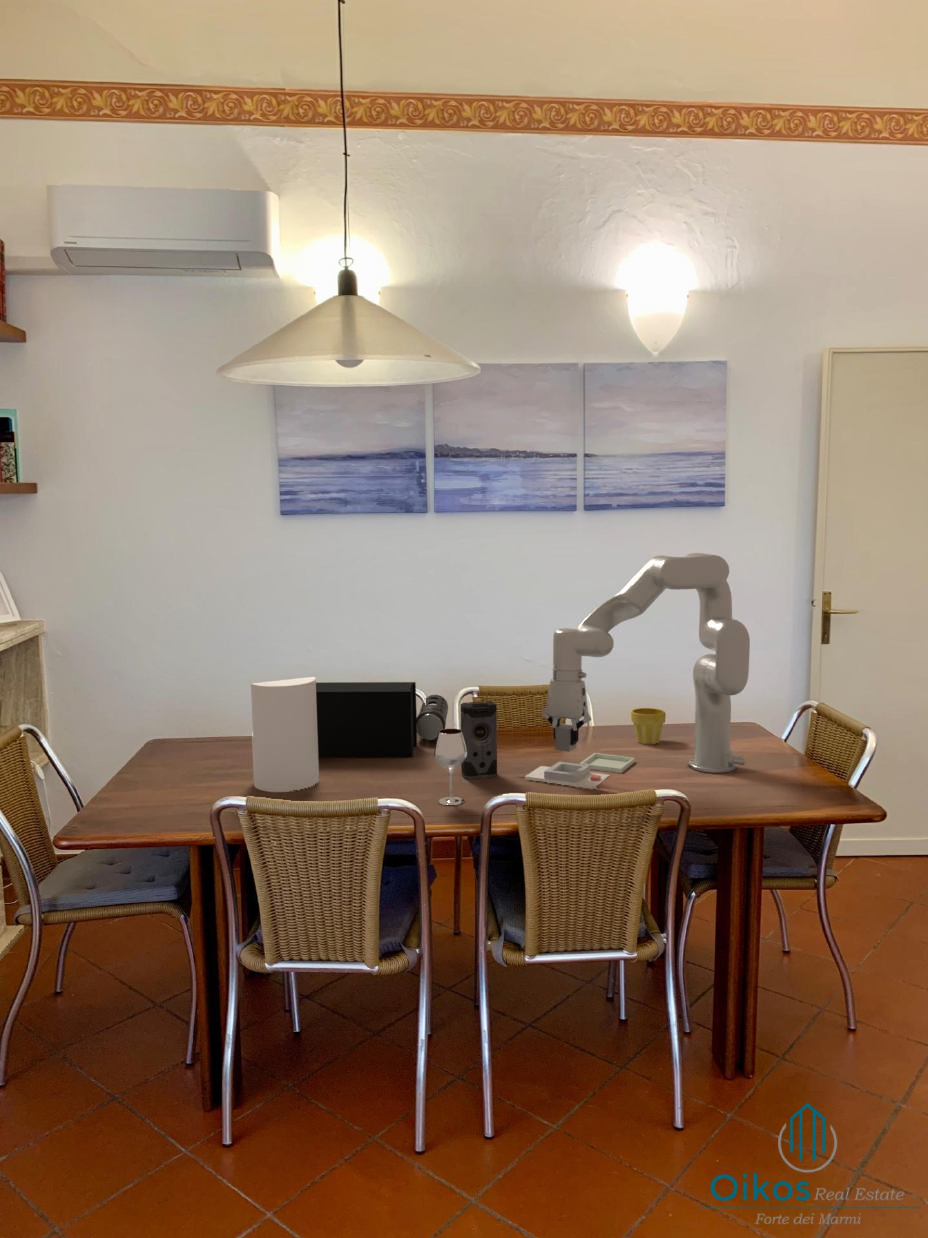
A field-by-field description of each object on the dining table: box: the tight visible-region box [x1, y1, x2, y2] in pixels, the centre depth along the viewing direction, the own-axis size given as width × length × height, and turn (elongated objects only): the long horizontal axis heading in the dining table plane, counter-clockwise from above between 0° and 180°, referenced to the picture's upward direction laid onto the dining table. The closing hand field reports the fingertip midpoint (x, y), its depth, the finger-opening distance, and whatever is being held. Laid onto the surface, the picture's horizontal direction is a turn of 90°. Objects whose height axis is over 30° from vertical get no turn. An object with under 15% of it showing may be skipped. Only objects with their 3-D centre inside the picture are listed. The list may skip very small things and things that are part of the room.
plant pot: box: [630, 707, 666, 745], centre depth 281 cm, size 10×10×10 cm
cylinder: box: [250, 676, 320, 793], centre depth 244 cm, size 17×17×28 cm
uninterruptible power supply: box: [316, 681, 418, 759], centre depth 274 cm, size 16×34×20 cm, turn 87°
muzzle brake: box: [417, 694, 449, 741], centre depth 296 cm, size 10×28×10 cm, turn 178°
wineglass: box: [433, 728, 467, 806], centre depth 226 cm, size 8×8×18 cm
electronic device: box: [460, 700, 498, 780], centre depth 248 cm, size 9×6×20 cm, turn 105°
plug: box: [554, 723, 577, 753], centre depth 243 cm, size 4×5×6 cm
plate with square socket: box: [524, 761, 611, 789], centre depth 244 cm, size 20×11×3 cm, turn 62°
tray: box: [578, 752, 636, 774], centre depth 255 cm, size 12×12×2 cm
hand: (565, 742), depth 243 cm, fingers closed on plug, 3 cm apart
